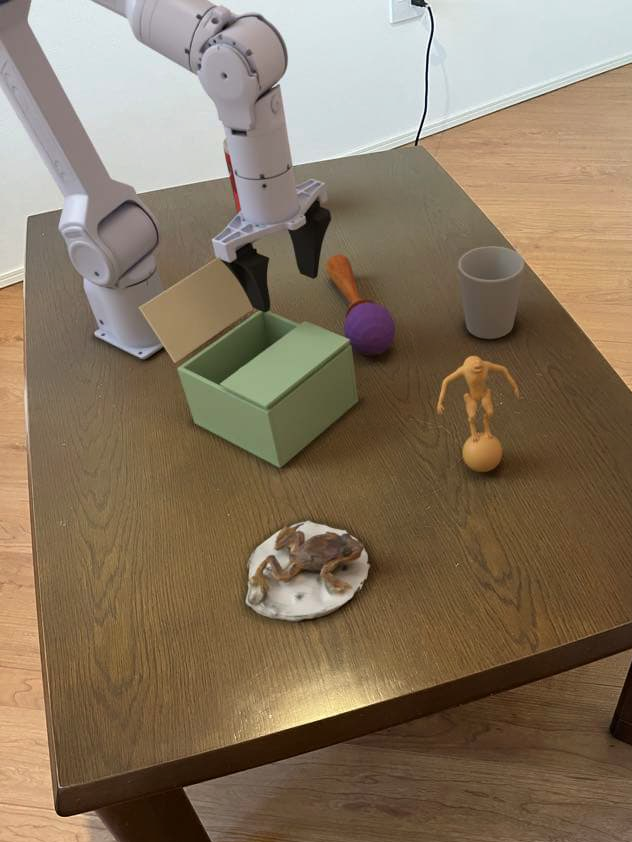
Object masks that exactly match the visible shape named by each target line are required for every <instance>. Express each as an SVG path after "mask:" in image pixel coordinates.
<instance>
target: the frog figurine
mask: <svg viewBox="0 0 632 842" xmlns="http://www.w3.org/2000/svg"><path fill="white" fill-rule="evenodd" d="M368 556H369V555H368V552H367V550H366V549H365V546H364V543H363V542H361V541H359V540H358V538H356V537H354V536H352V535H351V533H349V532H347V530H346V529H339V528H333V527H331V526H328V525H326V524H319V523H315V522H312V521H311V520H306V521H301V522H297V523H294V524H292V525H291V526H290V523H289V522H287V523H286V524H285V526H284V527H283V528H282V529H280V530H278V531H276V532H275V533H274V534H272V535H271V536H270V537H269V538H267V539H266V540H264V541H263V542H262V543H261V544H260V545H258V546H257V547H256V549H254V550H253V551H252V552H251V554H250V557H249V559H248V561H247V564H246V565H247V569H249V571H248V572H249V573H248V581H247V585H248V586H247V587H248V590H247V594H246V598H245V604H246V606H248V607H250V608H251V609H252V610H253V611H255V612H256V613H257V614H258V615H261V616H264V617H267V618H269V619H277V620H282V621H287V622H301V621H303V620H312V619H315V618H321V617H323V616H327V615H329V614H332V613H333V612H335V611H336V610H338V609H339V608H341V607H342V606H343V605H345V604H346V603H348V601H349V600H351V599H352V598H353V597H354V595H355V594H356V593H357V592H359V591H360V590H361V589H362V587H363V585H364V581H367V579H368V573H369V569H370V568H371V564H370V562H369V557H368ZM368 562H369V563H368Z"/></svg>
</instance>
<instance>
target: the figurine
mask: <svg viewBox="0 0 632 842" xmlns="http://www.w3.org/2000/svg"><path fill="white" fill-rule="evenodd" d="M489 371H491V372H497V373H499V372H501V373H503V375H504V377H505V378H506V380H507V382H508V383H509V384H510V386H511V387H512V388H513V389H514V395H515V396H516V399H520V391H519V388H518V386H517V384H516V382H515V380H514V378H512V376H511V374H510V373H509V371H508V369H507V367H506V366H503V365H500V364H495V363H492V362H490V361H487V360H482V359H481V358H480V357H479V356H478V355H470V356H468V357H467V358H465V360H464V362H463V364H462V365H461V366H460V367H458V368H457V369H456V371H453V372H452V373H451V374H449V375H448V376H446V377H445V378H444V379H443V380H442V384H441V390H440V394H439V397H438V402H437V407H436V408H437V411H436V413H438V415H439V416H440V415H443V410H444V411H445V407H444V406H443V402H444V400H445V397H446V392H447V389H448V384H450V383H451V382H454V381H456V380H457V379H459V378H461V377H464V380H465V382H466V384H467V386H468V389H469V392H466V393H464V394H463V400H464V403H465V409H466V413H467V415H468V418H467V422H468V423H469V426H470V428H469V429H470V432H471V436H469V437H468V438H467V439H466V441H464V443H463V447H462V458H463V461H464V463H465V464H466V466H467V467H468V468H469V469H471V470H472V471H475V472H478V473H487V472H490V471H492V470H494V469H496V467H498V465H499V464H500V462H501V460H502V456H503V448H502V447H503V446H502V445H501V442H500V441H499V439H498V438H497V437H496V436H494V435H493V434H492V432H491V430H490V425H489V420H490V419H492V417H493V415H494V413H495V412H494V405H493V402H492V397H491V393H492V391H491V389H490V388H486V389H484V387H485V384H486V381H487V379H488V374H489ZM478 401H480V402H481V403H480V404H481V407H482V409H483V410H484V411H485V413H484V414H483V429H484V432H477V428H476V425H475V422H476V418H477V417H476V416H477V411H478V403H477V402H478Z"/></svg>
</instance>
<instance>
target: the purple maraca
mask: <svg viewBox="0 0 632 842" xmlns="http://www.w3.org/2000/svg"><path fill="white" fill-rule="evenodd" d="M325 271H326V274H327V275H328V276H329V277H330V279H331V280H332V282H333V283H334V284H335V285H336V286H337V288H338V289H339V290H340V291H341V293H342V294H343V295H344V296H345V298H346V299H347V300H348V301H349V303H350V305H349V307H348V308H347V310H346V313H345V314H346V315H345V321H344V325H343V332H344V337H345V338H347V339H350V343H349V344H348V345H351V346H352V350H353V351H355V352H357V353H359V354H361V355H364V356H369V357H370V356H371V357H372V356H377V355H380V354H382V353H383V352H385V351H387V350H388V348H390V346H391V345H392V344H393V341H394V337H395V334H396V322H395V319H394V318H393V316H392V315H391V313H390V311H389V310H388V308H385V306H382V305H381V304H380V303H376V302H374V301H372V300H369V299H364V298H363V299H362V298H360V295H359V291H358V287H357V283H356V280H355V279H356V278H355V276H354V275H355V274H354V273H353V269H352V264H351V261H350V259H349V258H348V257H347V256H346V255H344V254H340V253H339V254H334V255H332V256H330V257H329V259H328V260H327V261H326V264H325Z"/></svg>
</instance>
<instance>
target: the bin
mask: <svg viewBox="0 0 632 842" xmlns="http://www.w3.org/2000/svg"><path fill="white" fill-rule="evenodd" d="M349 343H350V339H347V338H345V336H343V335H340V334H338V333H335V332H333V331H331V330H328V329H326V328H323V327H321V326H319V325H316V324H314V323H312V322H310V321H309V322H308V321H306V320H303V321H302V322H301V323H298V322H296V321H294V320H292V319H289V318H286V317H284V316H282V315H279V314H277V313H274V312H272V311H270V310H269V311H268V312H266V313H264V312H262V311H260V310H258V311H257V312H255V313H253V314H252V315H251V316H249V317H248V318H246V319H245V320H244V321H242V322H241V323H239V324H238V325H237V326H235V327H234V328H233V329H231V330H229V331H228V332H227V333H225V334H223V336H221V337H220V338H218V339H216V340H215V341H214V342H212V343H211V344H210V345H208V346H207V347H205V348H204V349H202V350H201V351H200V352H198V353H197V354H196V355H194V356H193V357H191V358H190V359H188V360H187V361H185V362H184V363H183V364H181V365H180V366H178V367H177V368H176V369H177V373H178V376H179V379H180V382H181V385H182V389H183V391H184V395H185V397H186V401H187V405H188V407H189V410H190V413H191V417H192V419H193V423H194V424H195V425H197V426H199V427H201V428H203V429H205V430H207V431H209V432H211V433H213V434H214V435H216V436H218V437H220V438H222V439H224V440H226V441H228V442H230V443H232V444H233V445H236V446H237V447H239V448H241V449H243V450H245V451H247V452H249V453H251V454H252V455H254V456H256V457H258V458H260V459H261V460H264V461H265V462H268V463H269V464H271V465H273V466H275V467H277V468H279V469H281V468H282V467H284V466H285V465H286V464H287V463H288V462H290V461H291V460H292V459H293V458H294V457H295V456H296V455H298V454H299V453H300V452H301V451H302V450H303V449H305V447H307V446H308V445H309V444H311V443H312V442H313V441H314V440H315V439H317V437H319V436H320V435H321V434H322V433H323V432H324V431H326V430H327V429H328V428H329V427H330V426H331V425H333V424H334V423H335V422H336V421H337V420H339V418H341V417H342V416H343V415H344V414H346V412H348V411H349V410H350V409H351V408H352V407H353V406H354V405H356V404H357V403H358V402H359V396H358V389H357V380H356V371H355V363H354V354H353V349H352V346H351V345H349ZM242 366H243V367H242ZM241 367H242V368H241ZM239 368H240V369H239ZM238 369H239V370H238ZM237 370H238V371H237Z"/></svg>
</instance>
